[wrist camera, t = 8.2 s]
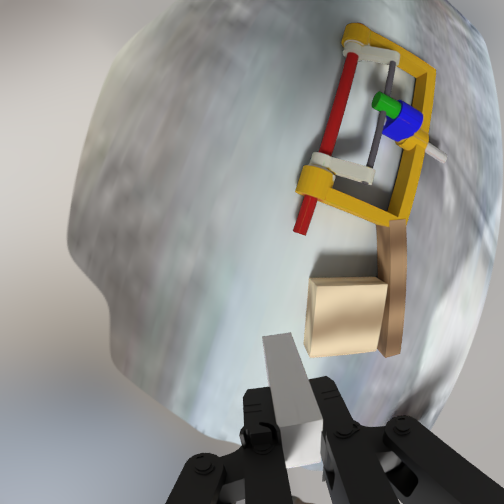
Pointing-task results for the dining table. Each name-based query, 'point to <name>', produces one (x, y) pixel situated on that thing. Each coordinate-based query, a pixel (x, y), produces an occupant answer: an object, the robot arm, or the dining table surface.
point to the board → (392, 284)
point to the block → (343, 315)
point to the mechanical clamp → (389, 124)
